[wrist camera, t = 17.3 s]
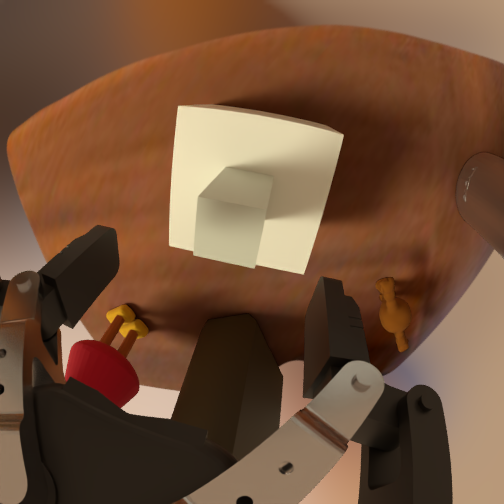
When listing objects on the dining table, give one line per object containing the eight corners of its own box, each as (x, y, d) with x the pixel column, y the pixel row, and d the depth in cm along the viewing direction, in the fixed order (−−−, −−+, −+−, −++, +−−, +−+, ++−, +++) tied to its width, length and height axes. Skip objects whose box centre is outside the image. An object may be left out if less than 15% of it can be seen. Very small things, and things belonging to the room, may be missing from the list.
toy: (66, 264, 36) (-46, 404, 11) (99, 236, 32) (-48, 414, 7) (165, 372, 46) (114, 510, 21) (209, 364, 43) (162, 532, 17)
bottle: (253, 308, 35) (214, 508, 14) (285, 376, 42) (271, 520, 21) (199, 317, 37) (138, 489, 16) (241, 380, 44) (214, 513, 23)
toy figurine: (405, 313, 33) (419, 350, 27) (381, 323, 34) (392, 361, 28) (387, 244, 28) (406, 280, 22) (357, 256, 29) (371, 295, 23)
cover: (325, 125, 23) (370, 150, 10) (300, 225, 28) (305, 331, 16) (213, 104, 23) (130, 110, 10) (200, 205, 29) (135, 292, 16)
